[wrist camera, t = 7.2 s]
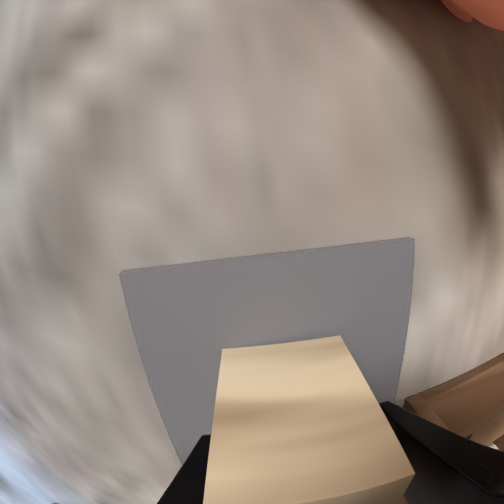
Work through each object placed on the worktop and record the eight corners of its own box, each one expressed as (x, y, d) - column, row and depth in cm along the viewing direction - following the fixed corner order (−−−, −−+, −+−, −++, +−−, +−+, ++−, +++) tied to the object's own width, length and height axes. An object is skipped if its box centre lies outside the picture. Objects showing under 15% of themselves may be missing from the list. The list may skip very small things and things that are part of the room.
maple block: (334, 415, 10) (375, 536, 5) (237, 427, 10) (234, 557, 5) (340, 335, 10) (415, 473, 4) (222, 348, 10) (202, 507, 4)
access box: (515, 414, 15) (535, 433, 12) (372, 492, 14) (388, 527, 10) (552, 320, 13) (580, 336, 9) (405, 398, 12) (440, 443, 8)
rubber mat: (381, 430, 12) (384, 435, 12) (185, 463, 11) (184, 469, 11) (408, 237, 10) (414, 239, 9) (122, 270, 9) (119, 273, 9)
